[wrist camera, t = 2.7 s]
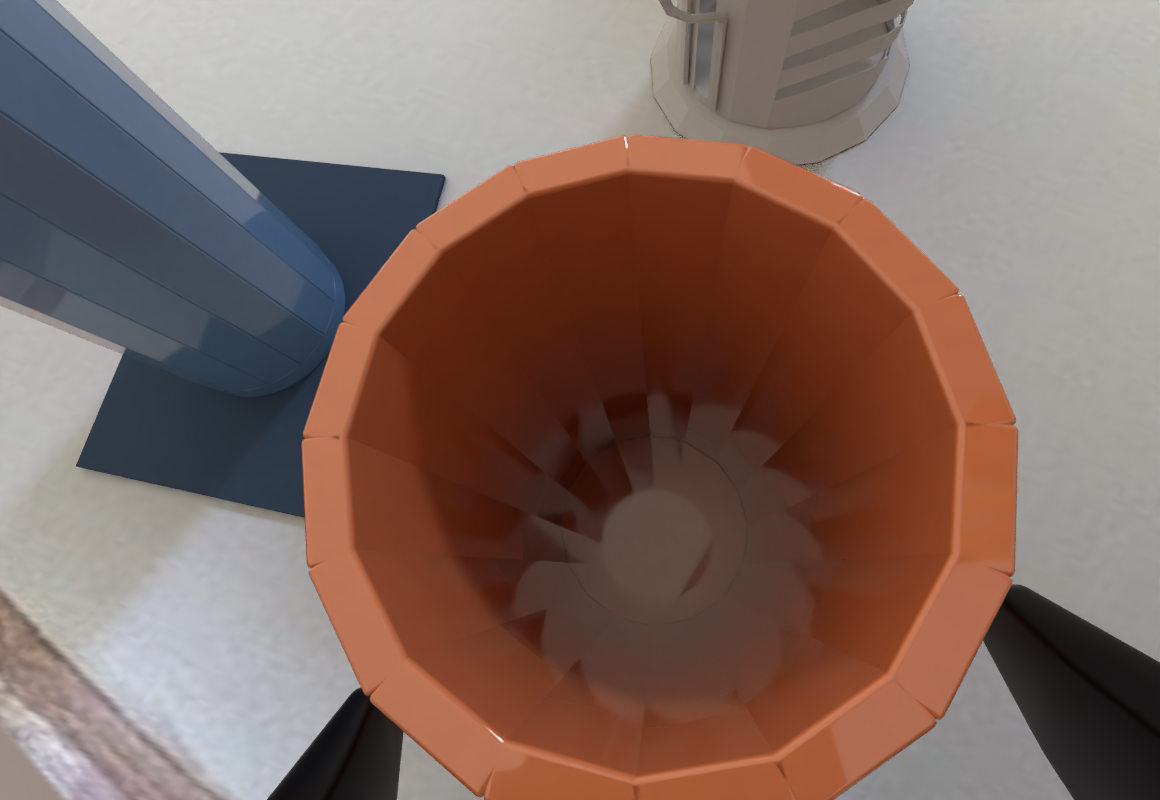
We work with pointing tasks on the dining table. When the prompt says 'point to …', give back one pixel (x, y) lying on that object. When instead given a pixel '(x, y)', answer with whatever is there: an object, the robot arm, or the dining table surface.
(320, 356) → the blue tumbler
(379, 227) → the blue pad
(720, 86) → the french press
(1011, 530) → the terracotta tumbler
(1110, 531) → the dining table surface
